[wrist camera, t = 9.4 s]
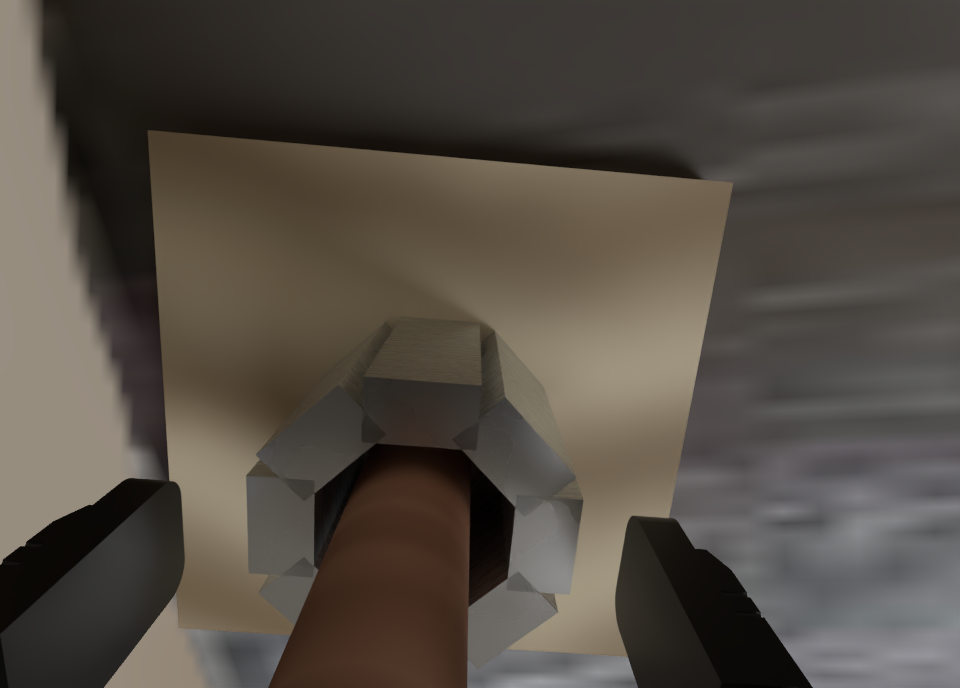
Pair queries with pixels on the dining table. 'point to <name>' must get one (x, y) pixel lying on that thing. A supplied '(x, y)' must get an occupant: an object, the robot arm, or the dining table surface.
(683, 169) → the dining table surface
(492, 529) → the ring
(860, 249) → the dining table surface
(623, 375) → the post stand
